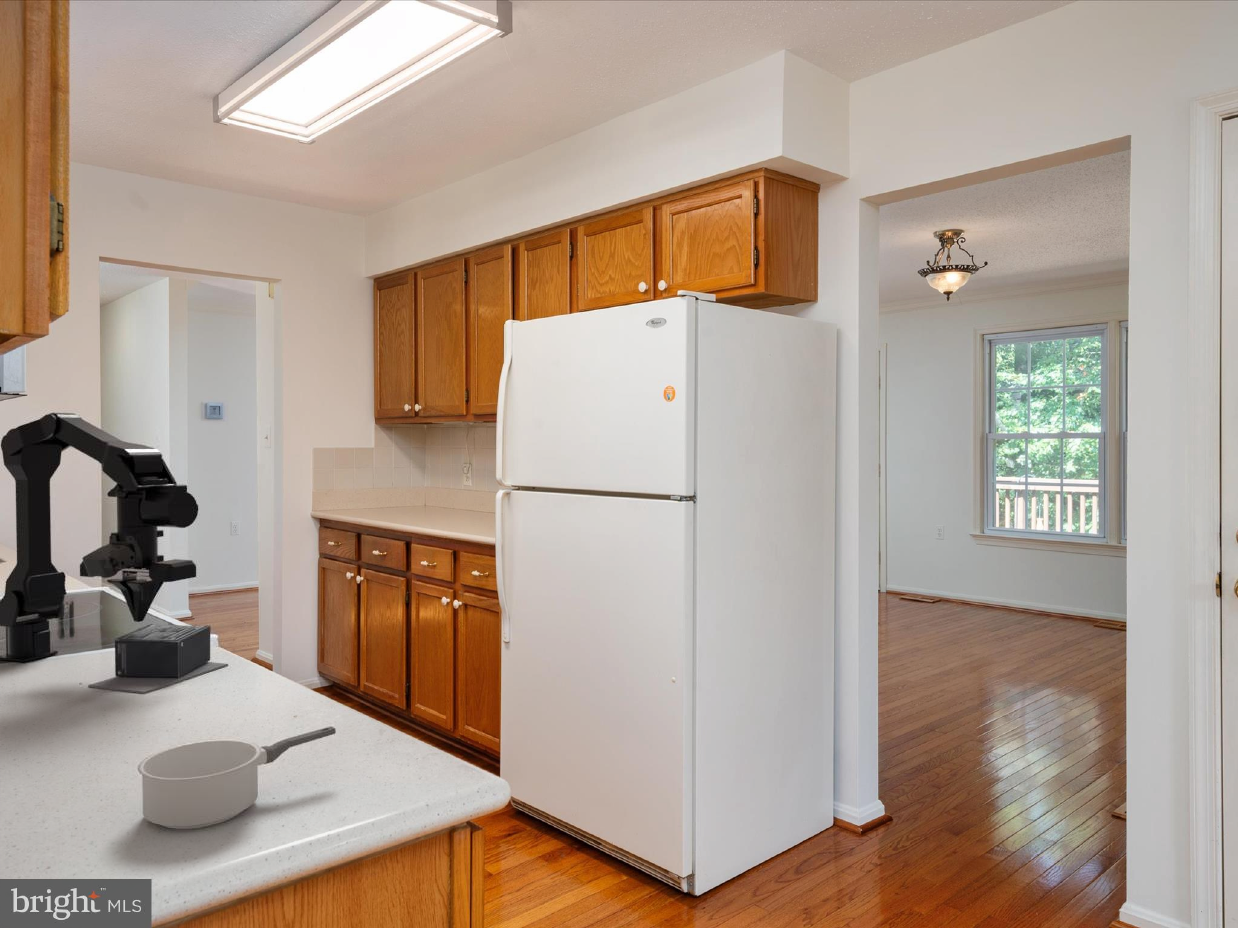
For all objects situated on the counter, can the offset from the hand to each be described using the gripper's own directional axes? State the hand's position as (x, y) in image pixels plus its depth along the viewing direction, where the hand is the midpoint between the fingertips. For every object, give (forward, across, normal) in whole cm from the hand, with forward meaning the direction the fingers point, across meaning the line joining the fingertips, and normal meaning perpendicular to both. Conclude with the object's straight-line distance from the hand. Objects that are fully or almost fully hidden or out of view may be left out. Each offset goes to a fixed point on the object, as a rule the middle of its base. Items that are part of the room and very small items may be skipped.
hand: (138, 621), depth 142 cm
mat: (+8, +4, 0) cm, 10 cm away
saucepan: (+9, +51, -35) cm, 63 cm away
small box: (+5, -2, +1) cm, 5 cm away
